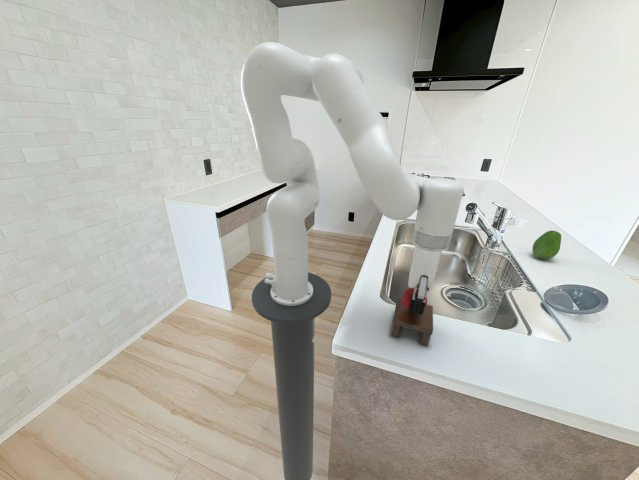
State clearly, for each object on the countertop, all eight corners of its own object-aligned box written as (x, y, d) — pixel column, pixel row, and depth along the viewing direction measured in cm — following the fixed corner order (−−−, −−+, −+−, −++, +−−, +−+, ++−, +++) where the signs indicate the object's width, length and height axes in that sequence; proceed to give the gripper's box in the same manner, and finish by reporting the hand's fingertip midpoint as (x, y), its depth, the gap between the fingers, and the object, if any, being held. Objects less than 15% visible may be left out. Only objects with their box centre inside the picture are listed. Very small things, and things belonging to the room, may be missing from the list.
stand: (390, 336, 65) (393, 319, 62) (394, 313, 72) (397, 297, 70) (428, 347, 62) (433, 330, 59) (428, 321, 69) (432, 305, 67)
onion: (421, 323, 61) (428, 296, 58) (397, 314, 64) (402, 288, 60) (425, 308, 66) (432, 283, 62) (402, 301, 68) (407, 276, 65)
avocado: (558, 264, 98) (572, 235, 93) (535, 262, 99) (547, 233, 94) (546, 254, 105) (558, 227, 100) (524, 252, 106) (535, 225, 101)
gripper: (414, 221, 64) (403, 281, 72) (410, 252, 49) (396, 323, 57) (447, 225, 61) (432, 287, 69) (453, 259, 47) (432, 332, 55)
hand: (416, 302), depth 63 cm, fingers open, 6 cm apart
